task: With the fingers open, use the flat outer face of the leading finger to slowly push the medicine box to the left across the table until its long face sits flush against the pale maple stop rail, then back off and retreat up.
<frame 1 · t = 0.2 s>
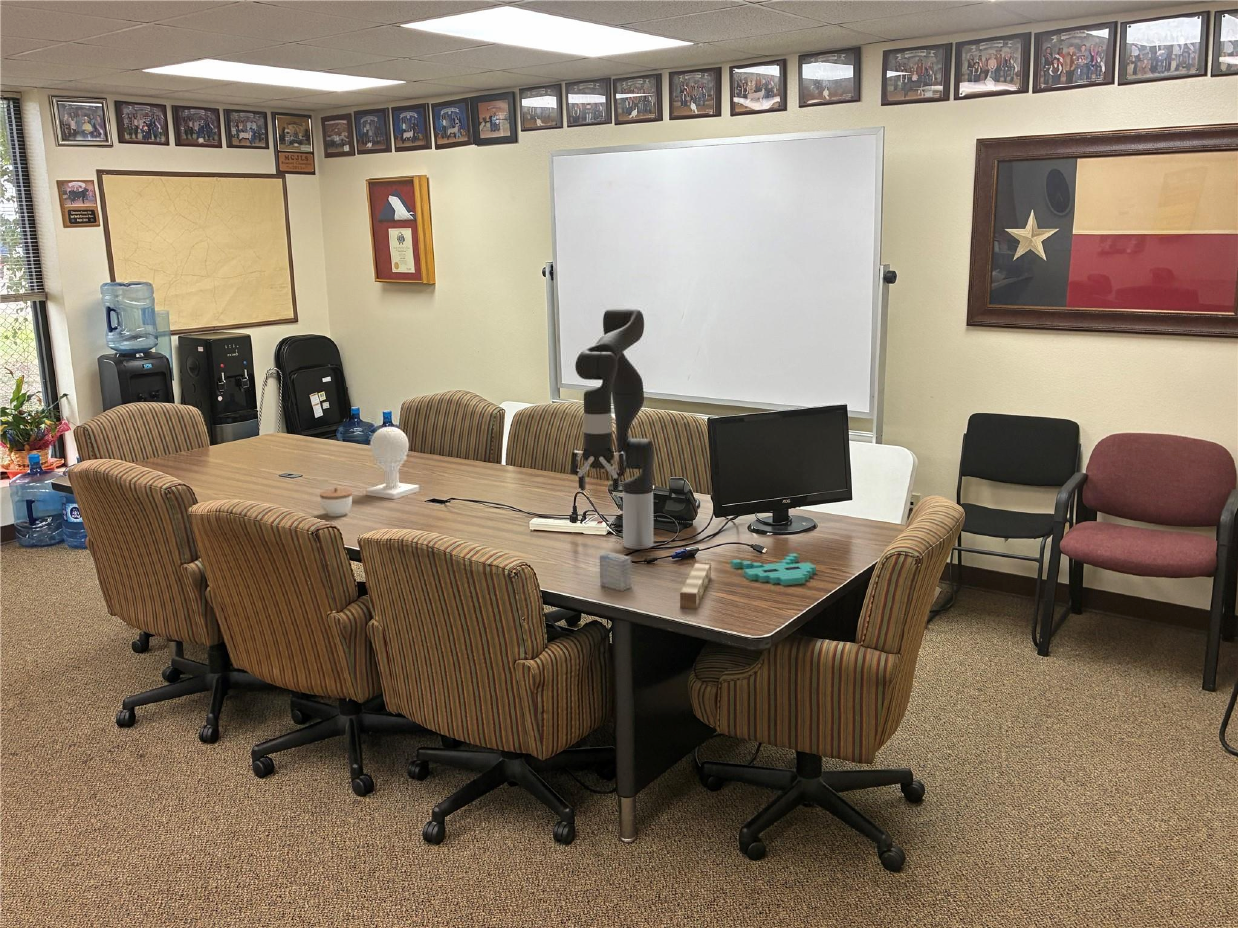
hand: (599, 490, 272), 28 cm above the table, fingers open, 8 cm apart
alien figure: (778, 575, 293), on the table
trophy: (392, 493, 388), on the table
lidded jar: (337, 514, 360), on the table
maple stop rail: (696, 591, 279), on the table
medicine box: (615, 587, 284), on the table
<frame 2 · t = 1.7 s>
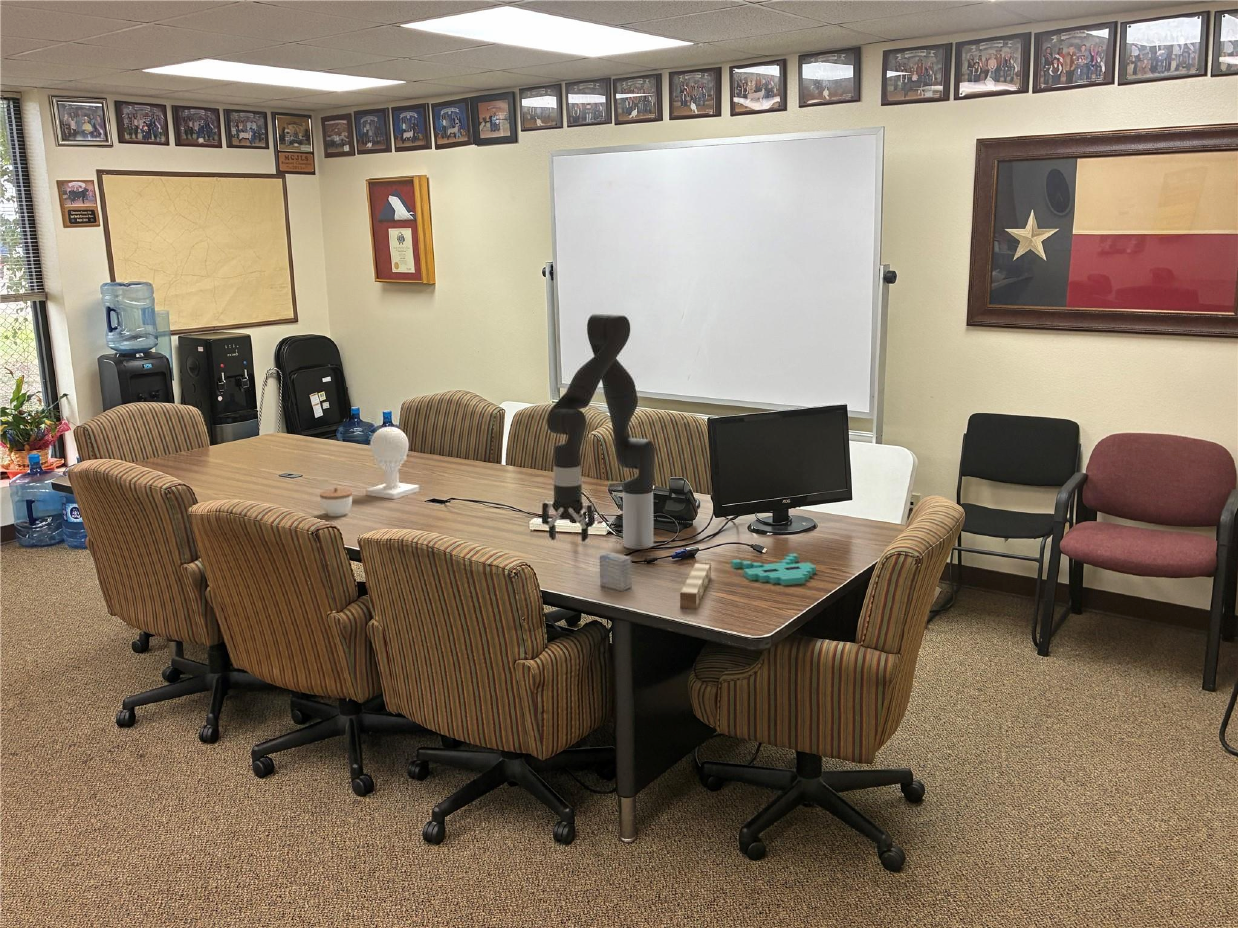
hand: (568, 540, 284), 12 cm above the table, fingers open, 8 cm apart
nothing on the table moved.
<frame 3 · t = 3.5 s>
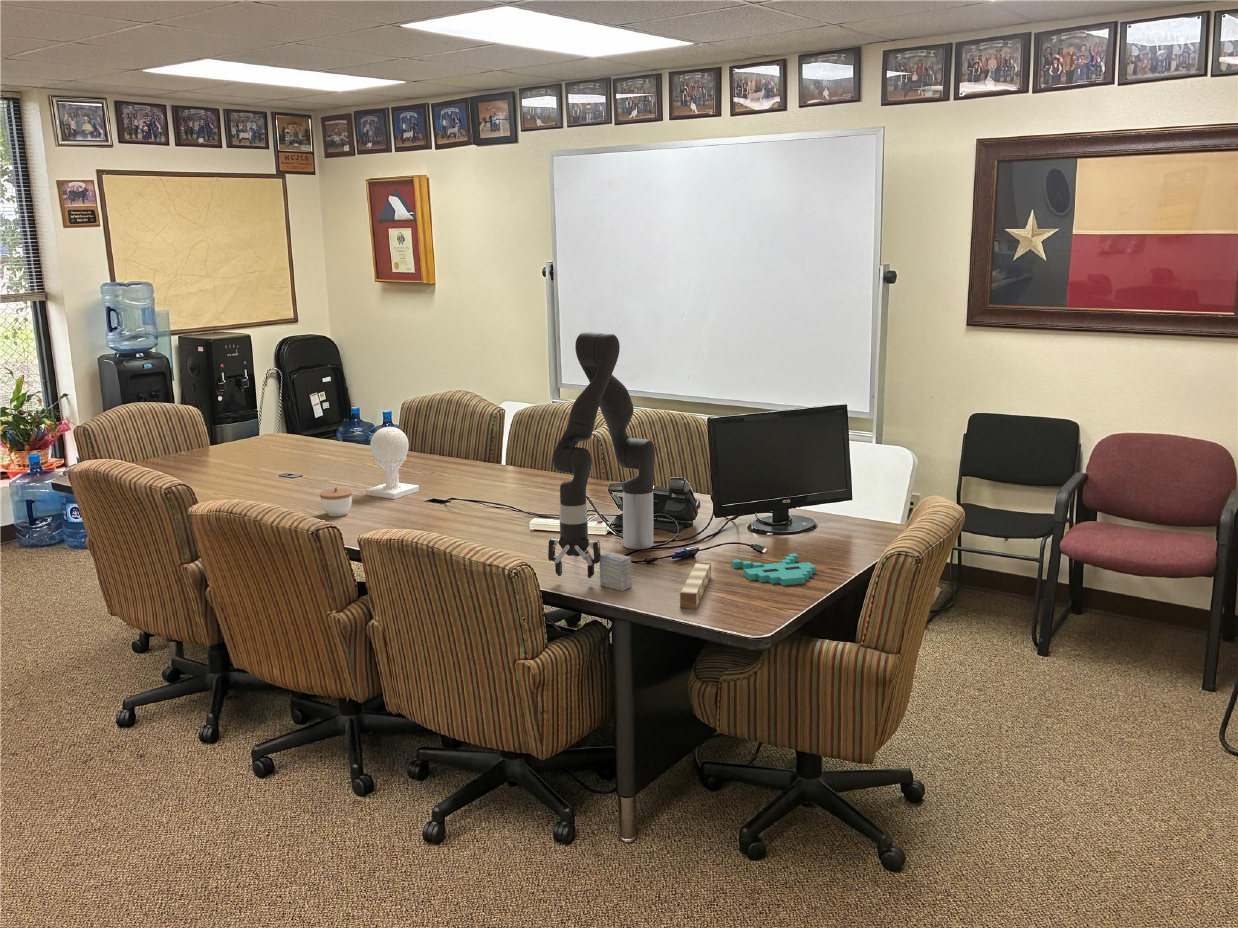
hand: (574, 576, 286), 2 cm above the table, fingers open, 8 cm apart
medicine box: (615, 587, 284), on the table, touching gripper, hand
everything else where it was.
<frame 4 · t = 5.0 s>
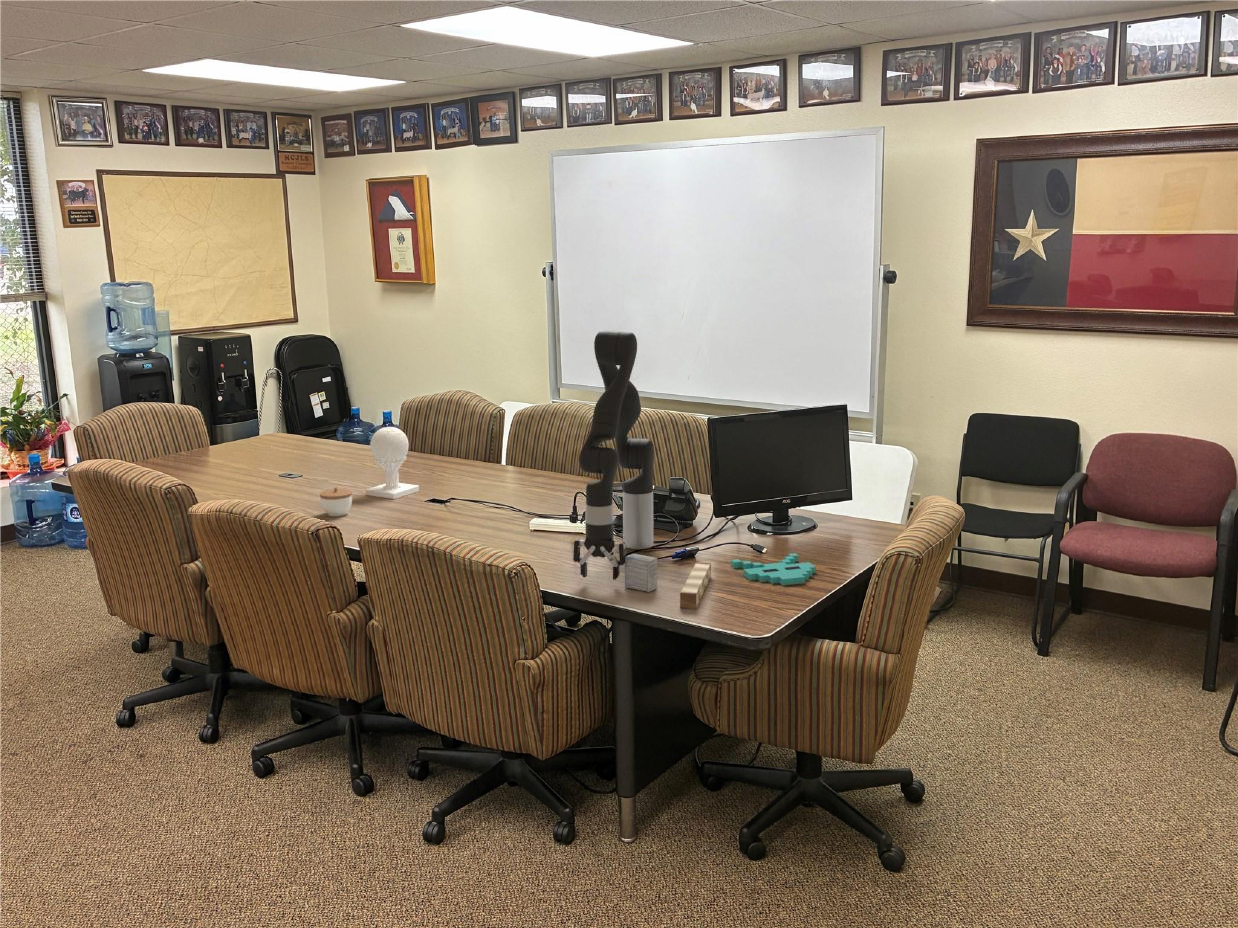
hand: (599, 577, 284), 2 cm above the table, fingers open, 8 cm apart
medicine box: (640, 588, 281), on the table, touching gripper, hand
everything else where it was.
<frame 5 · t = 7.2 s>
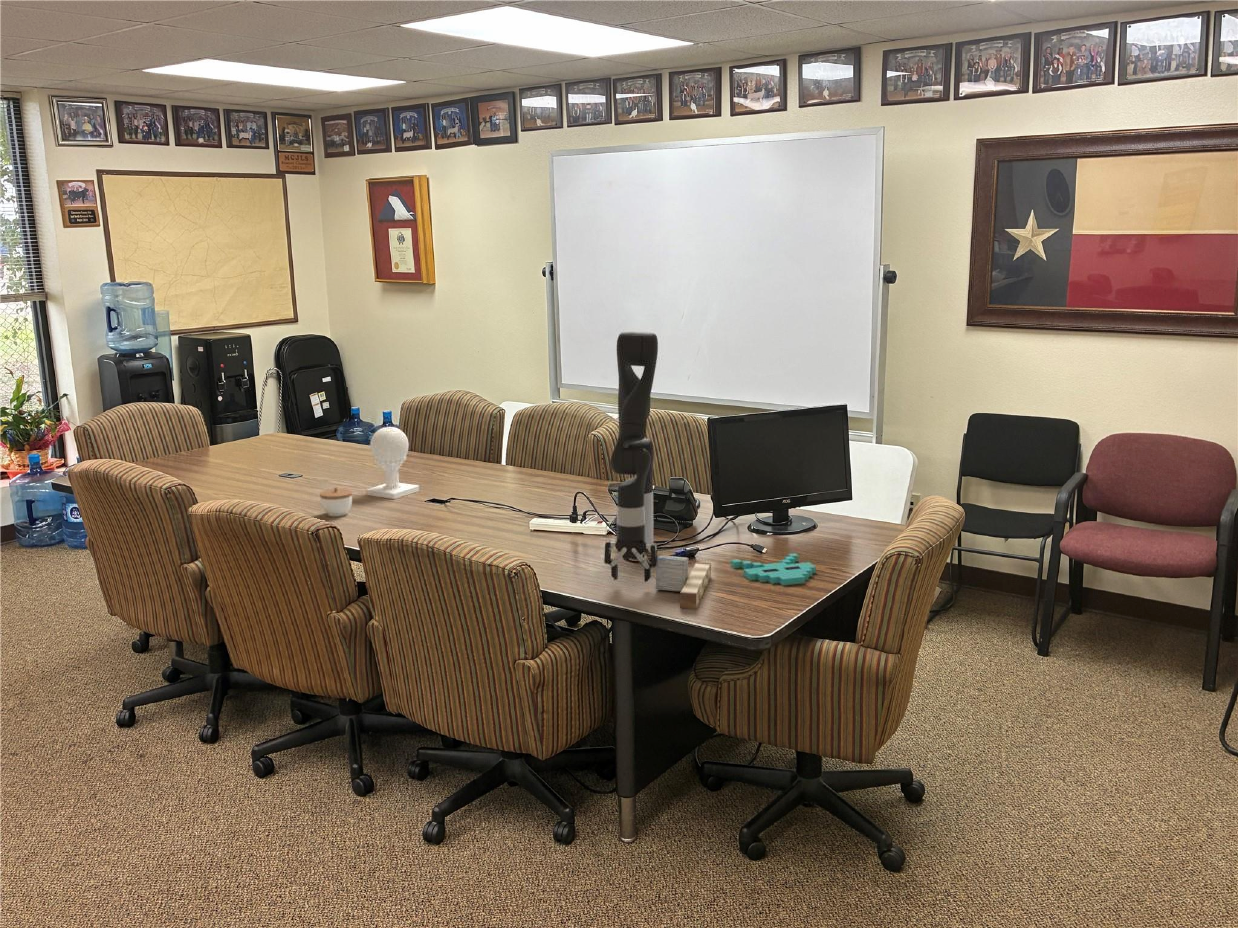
hand: (630, 579, 281), 2 cm above the table, fingers open, 8 cm apart
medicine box: (671, 590, 280), on the table, touching gripper, hand
everything else where it was.
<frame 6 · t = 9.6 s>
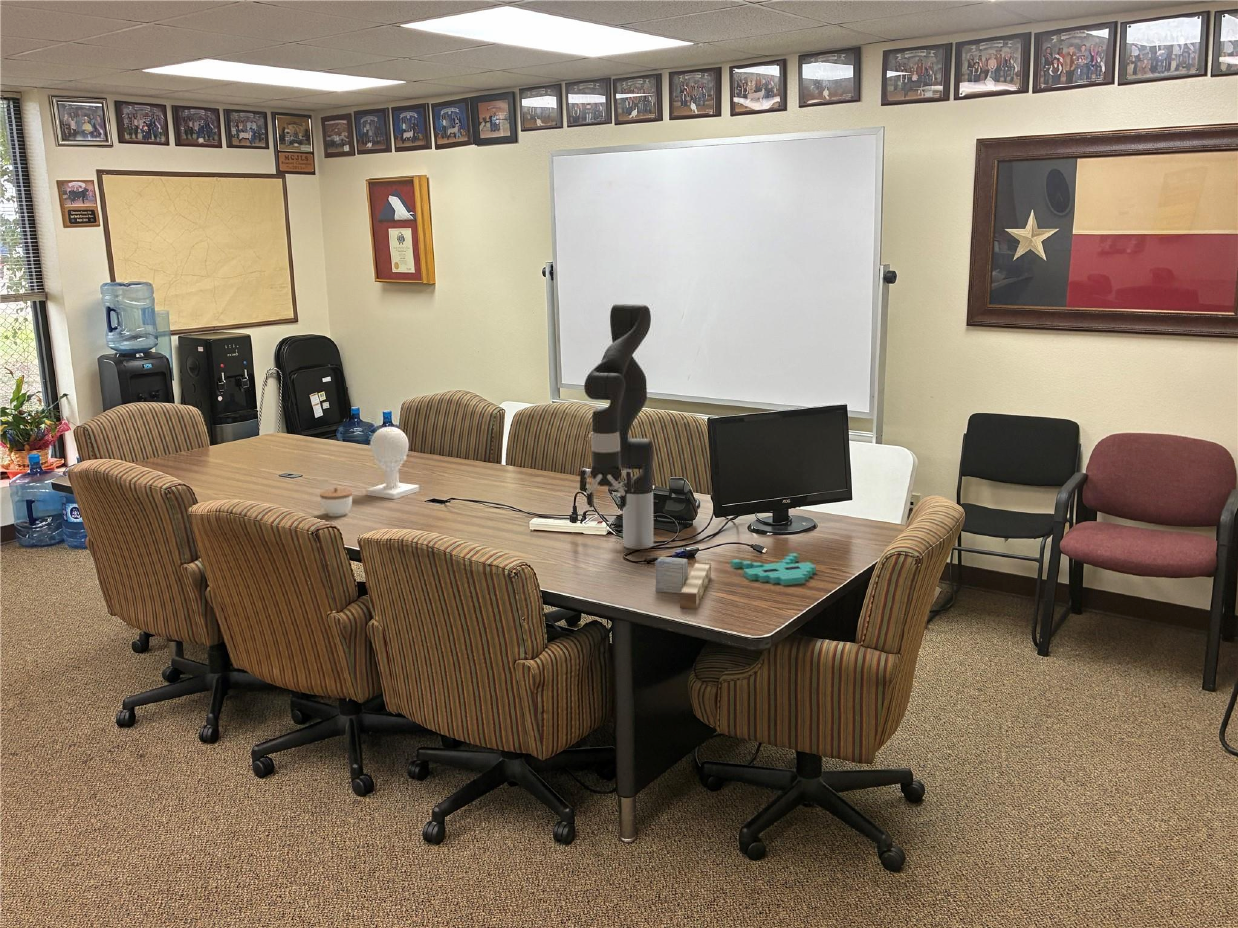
hand: (606, 507, 279), 22 cm above the table, fingers open, 8 cm apart
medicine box: (671, 591, 280), on the table
everything else where it was.
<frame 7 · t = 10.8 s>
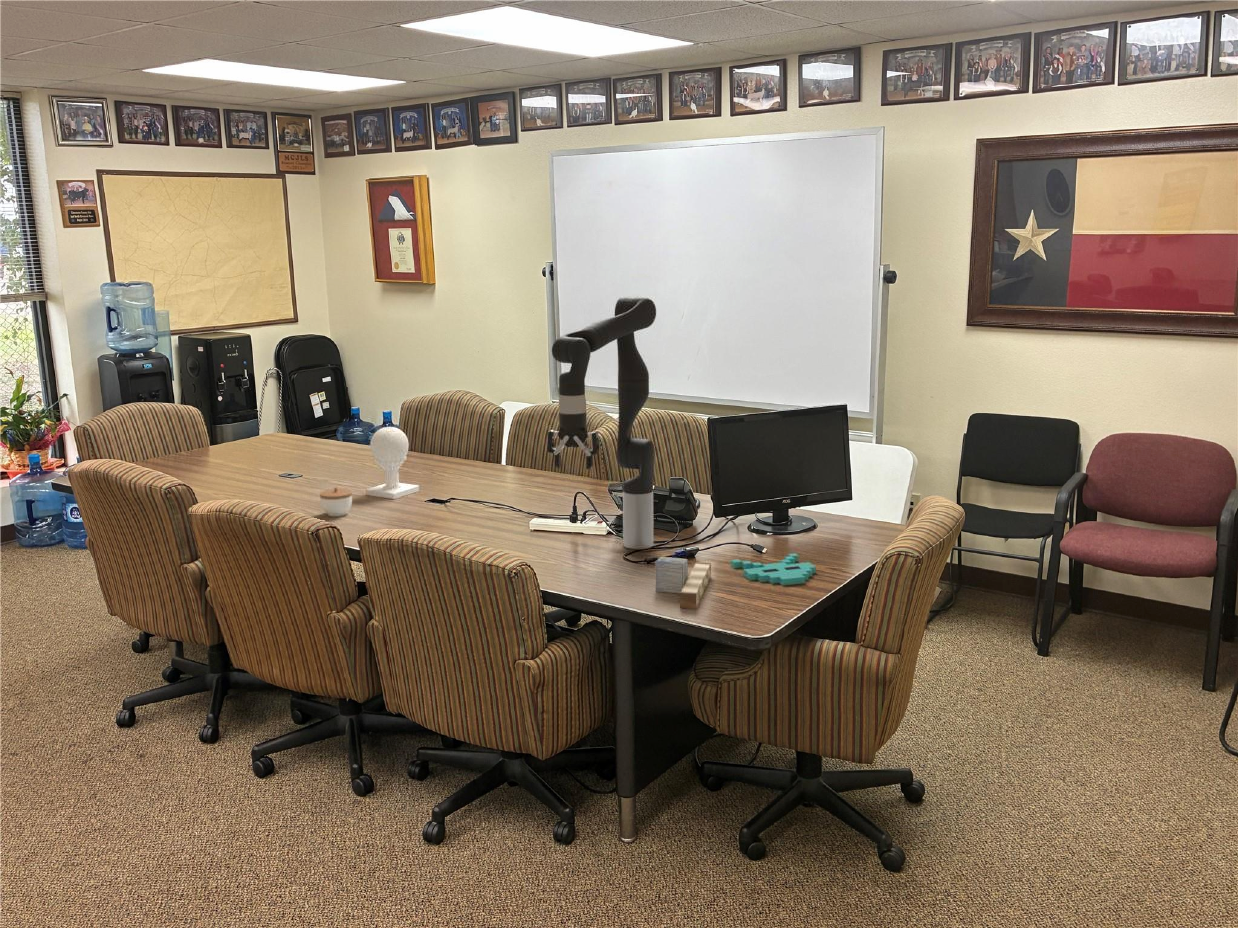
hand: (573, 468, 290), 30 cm above the table, fingers open, 8 cm apart
nothing on the table moved.
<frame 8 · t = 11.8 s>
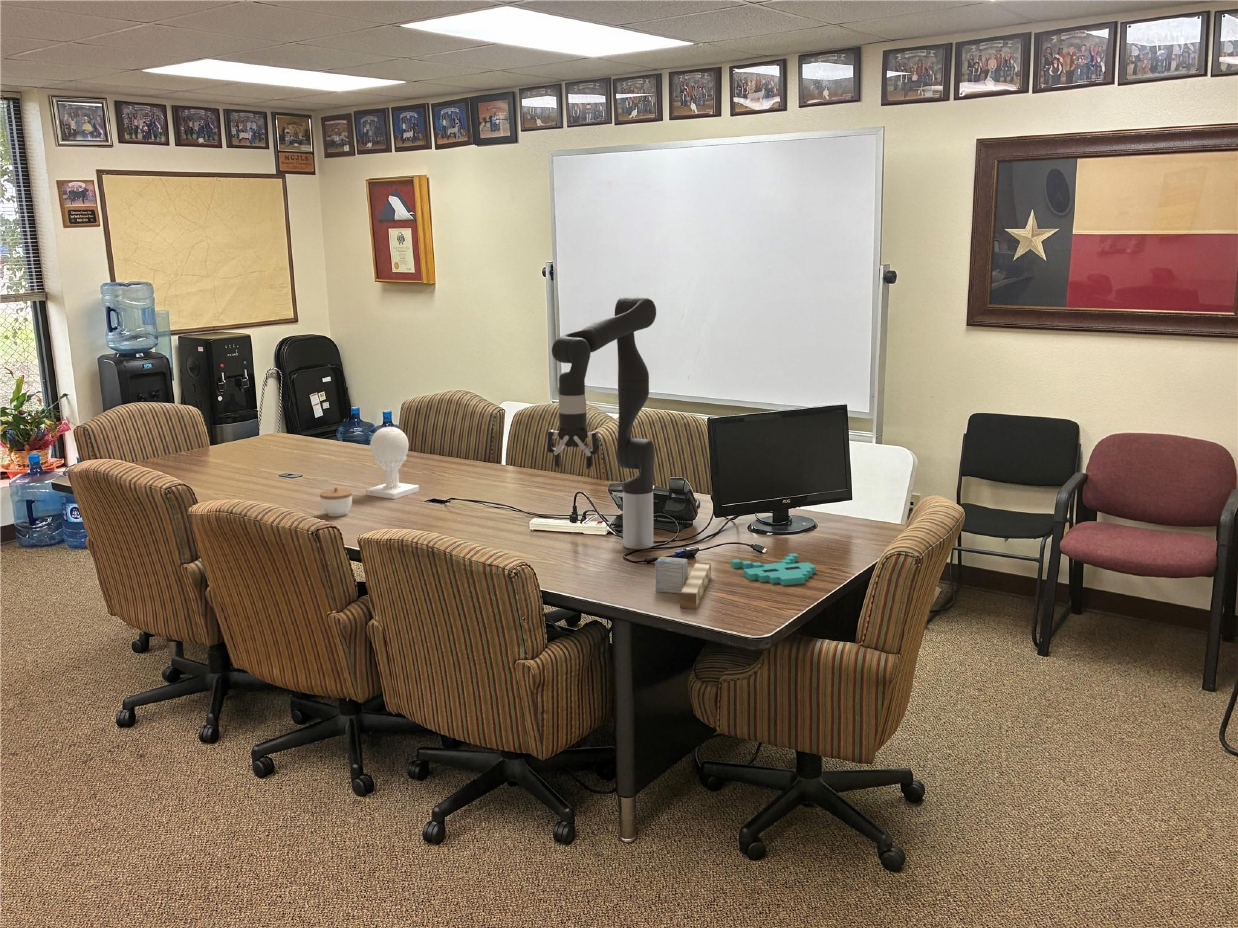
hand: (573, 468, 290), 30 cm above the table, fingers open, 8 cm apart
nothing on the table moved.
at the end: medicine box inside the target area on the table beside the maple stop rail (0.3 cm from its centre), on the table; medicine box tilted 0° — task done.
